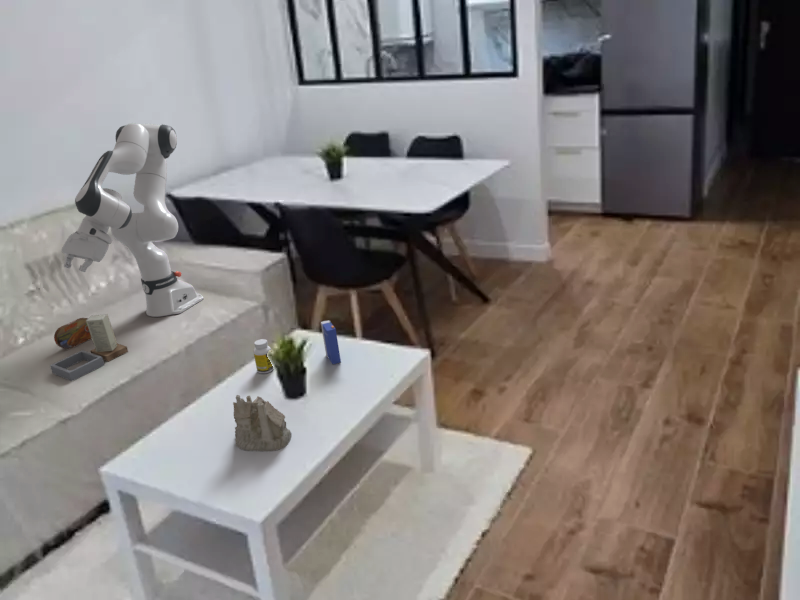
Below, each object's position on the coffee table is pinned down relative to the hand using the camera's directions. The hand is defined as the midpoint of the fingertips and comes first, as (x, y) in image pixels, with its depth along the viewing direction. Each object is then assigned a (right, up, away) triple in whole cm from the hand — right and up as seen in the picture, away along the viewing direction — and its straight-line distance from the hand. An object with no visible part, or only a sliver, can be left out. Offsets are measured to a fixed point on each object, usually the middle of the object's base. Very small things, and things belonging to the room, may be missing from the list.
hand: (73, 269), depth 252 cm
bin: (+3, -33, -4) cm, 34 cm away
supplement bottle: (+69, -32, -19) cm, 78 cm away
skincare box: (+10, -27, +4) cm, 29 cm away
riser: (+10, -29, +5) cm, 31 cm away
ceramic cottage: (+75, -46, -54) cm, 103 cm away
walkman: (+90, -29, -17) cm, 96 cm away
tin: (-6, -26, +16) cm, 31 cm away
